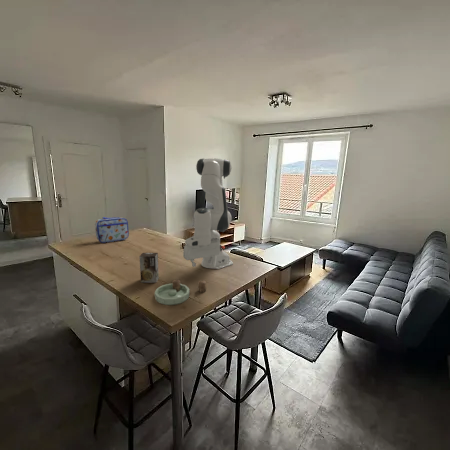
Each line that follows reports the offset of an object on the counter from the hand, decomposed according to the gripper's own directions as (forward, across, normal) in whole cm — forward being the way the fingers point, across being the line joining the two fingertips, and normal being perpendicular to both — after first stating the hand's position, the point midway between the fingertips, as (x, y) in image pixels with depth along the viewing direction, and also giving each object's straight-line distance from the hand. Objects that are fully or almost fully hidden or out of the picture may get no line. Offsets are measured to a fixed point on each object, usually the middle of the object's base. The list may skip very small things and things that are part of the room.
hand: (202, 264), depth 128 cm
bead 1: (+14, +13, -5) cm, 19 cm away
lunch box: (+15, +28, -123) cm, 127 cm away
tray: (+15, +16, -2) cm, 22 cm away
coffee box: (+15, +21, -26) cm, 37 cm away
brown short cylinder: (+15, 0, 0) cm, 15 cm away
